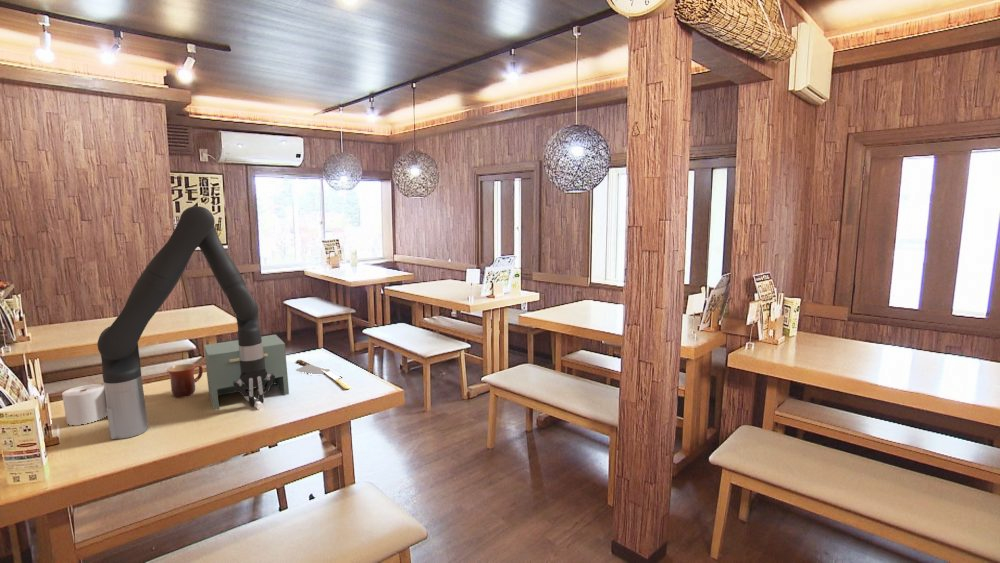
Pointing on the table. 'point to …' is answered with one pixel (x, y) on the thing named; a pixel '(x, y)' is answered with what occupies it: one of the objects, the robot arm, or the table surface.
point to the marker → (256, 403)
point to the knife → (337, 379)
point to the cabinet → (227, 366)
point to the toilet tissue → (85, 404)
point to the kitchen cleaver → (310, 368)
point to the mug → (183, 379)
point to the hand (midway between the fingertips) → (256, 405)
